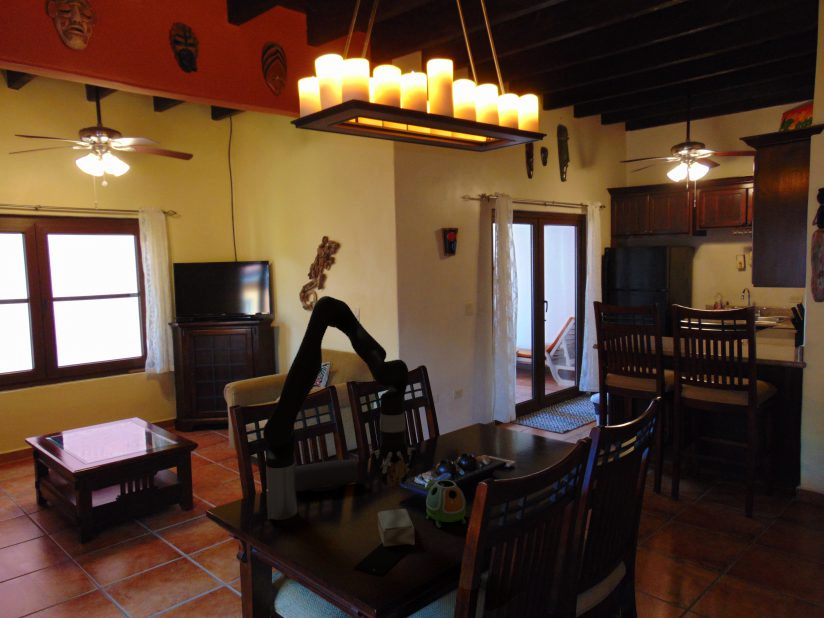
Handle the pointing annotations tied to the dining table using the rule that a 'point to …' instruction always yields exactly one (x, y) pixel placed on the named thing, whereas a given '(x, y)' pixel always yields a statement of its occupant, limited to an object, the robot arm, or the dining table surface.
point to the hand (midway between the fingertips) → (394, 483)
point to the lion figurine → (396, 473)
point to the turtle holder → (445, 502)
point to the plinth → (395, 527)
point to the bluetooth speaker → (326, 475)
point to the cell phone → (382, 559)
